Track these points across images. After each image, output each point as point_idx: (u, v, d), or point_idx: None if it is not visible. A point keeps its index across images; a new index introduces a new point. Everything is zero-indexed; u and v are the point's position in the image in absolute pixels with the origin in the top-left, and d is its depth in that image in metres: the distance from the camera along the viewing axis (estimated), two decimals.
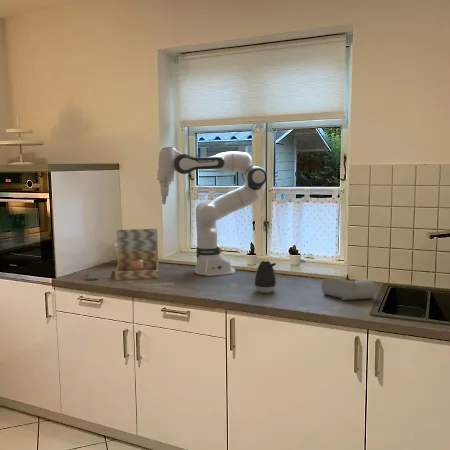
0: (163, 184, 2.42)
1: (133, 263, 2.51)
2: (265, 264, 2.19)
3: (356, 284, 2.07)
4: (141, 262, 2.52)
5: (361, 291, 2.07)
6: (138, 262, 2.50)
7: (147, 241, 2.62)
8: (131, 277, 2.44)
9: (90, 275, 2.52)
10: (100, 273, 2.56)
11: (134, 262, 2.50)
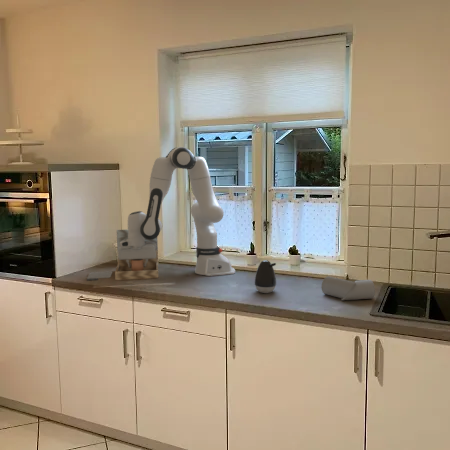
0: (154, 247, 2.53)
1: (133, 263, 2.51)
2: (265, 264, 2.19)
3: (356, 284, 2.07)
4: (141, 262, 2.52)
5: (361, 291, 2.06)
6: (138, 262, 2.50)
7: None
8: (131, 277, 2.44)
9: (90, 275, 2.52)
10: (100, 273, 2.56)
11: (134, 262, 2.50)
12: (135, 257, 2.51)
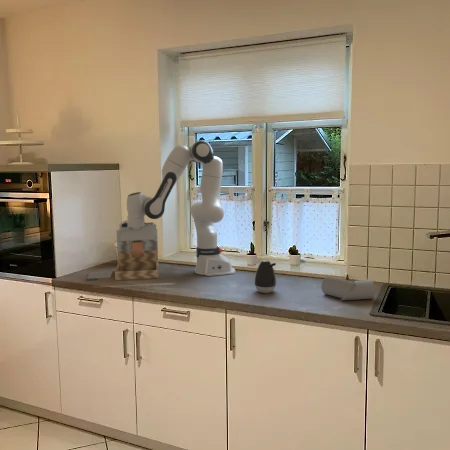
0: (154, 228, 2.51)
1: (133, 245, 2.49)
2: (265, 264, 2.19)
3: (355, 284, 2.07)
4: (141, 244, 2.50)
5: (361, 291, 2.06)
6: (138, 244, 2.49)
7: None
8: (131, 277, 2.44)
9: (90, 275, 2.52)
10: (100, 273, 2.56)
11: (134, 244, 2.49)
12: (135, 238, 2.50)
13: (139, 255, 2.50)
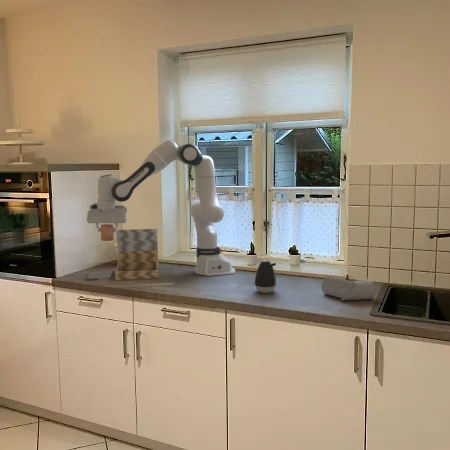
0: (124, 211, 2.49)
1: (102, 228, 2.47)
2: (265, 264, 2.19)
3: (355, 284, 2.07)
4: (111, 227, 2.48)
5: (360, 291, 2.06)
6: (107, 227, 2.47)
7: (147, 241, 2.62)
8: (131, 277, 2.44)
9: (90, 275, 2.52)
10: (100, 273, 2.56)
11: (103, 227, 2.47)
12: (104, 221, 2.48)
13: (108, 239, 2.48)
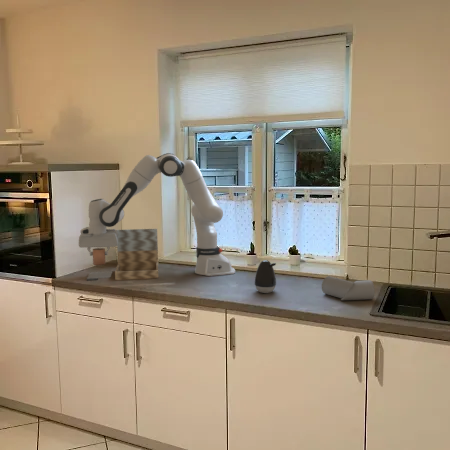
0: (116, 235, 2.51)
1: (94, 252, 2.49)
2: (265, 264, 2.19)
3: (355, 284, 2.07)
4: (102, 251, 2.50)
5: (360, 291, 2.06)
6: (99, 251, 2.49)
7: (147, 241, 2.62)
8: (131, 277, 2.44)
9: (90, 275, 2.52)
10: (100, 273, 2.56)
11: (95, 251, 2.49)
12: (96, 245, 2.49)
13: (100, 263, 2.50)
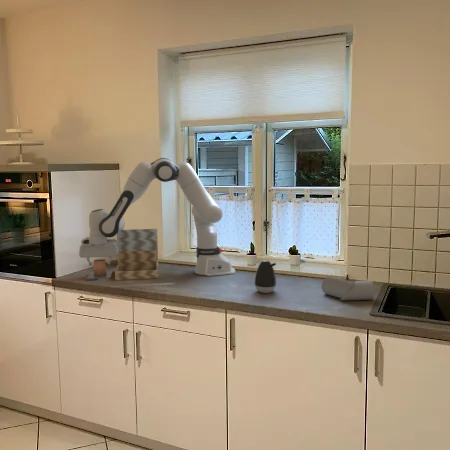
0: (116, 245, 2.52)
1: (95, 264, 2.50)
2: (265, 264, 2.19)
3: (355, 284, 2.07)
4: (103, 263, 2.51)
5: (360, 291, 2.06)
6: (100, 263, 2.50)
7: (147, 241, 2.62)
8: (131, 277, 2.44)
9: (90, 275, 2.52)
10: None
11: (96, 263, 2.50)
12: (97, 255, 2.50)
13: (101, 274, 2.51)
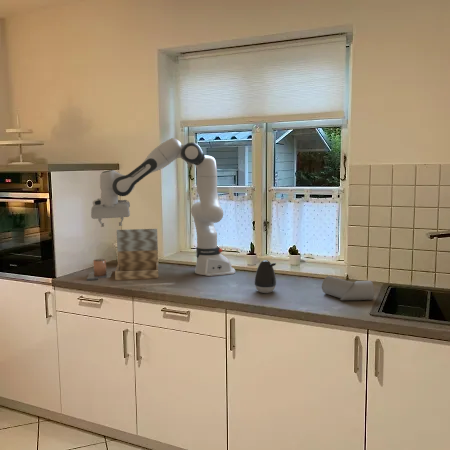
0: (127, 205, 2.54)
1: (95, 264, 2.50)
2: (265, 264, 2.19)
3: (354, 285, 2.06)
4: (103, 263, 2.51)
5: (359, 291, 2.05)
6: (100, 263, 2.50)
7: (147, 241, 2.62)
8: (131, 277, 2.44)
9: (90, 275, 2.52)
10: None
11: (96, 263, 2.49)
12: (108, 216, 2.52)
13: (101, 274, 2.51)
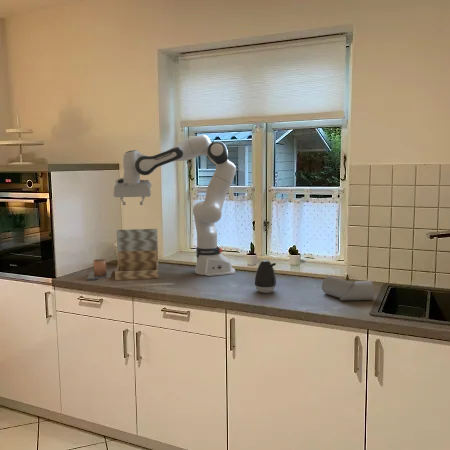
0: (149, 185, 2.62)
1: (95, 264, 2.50)
2: (265, 264, 2.19)
3: (354, 285, 2.06)
4: (104, 263, 2.51)
5: (359, 291, 2.05)
6: (100, 263, 2.50)
7: (147, 241, 2.62)
8: (131, 277, 2.44)
9: (90, 275, 2.52)
10: None
11: (96, 263, 2.50)
12: (130, 195, 2.60)
13: (101, 274, 2.51)
